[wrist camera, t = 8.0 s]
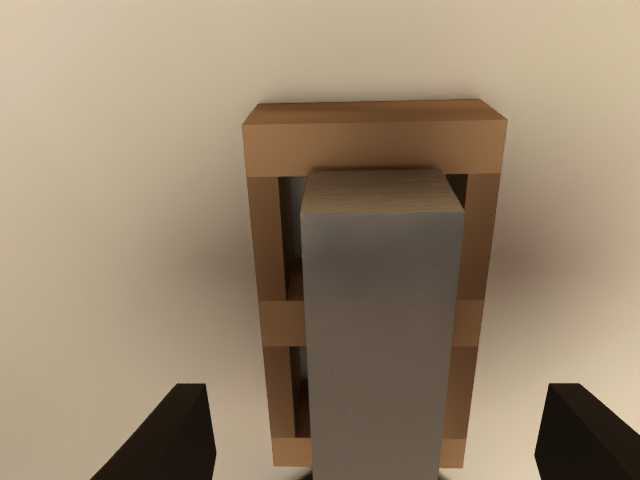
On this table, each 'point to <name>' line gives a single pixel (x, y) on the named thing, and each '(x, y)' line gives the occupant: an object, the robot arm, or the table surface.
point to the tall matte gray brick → (379, 319)
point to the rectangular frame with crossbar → (360, 155)
